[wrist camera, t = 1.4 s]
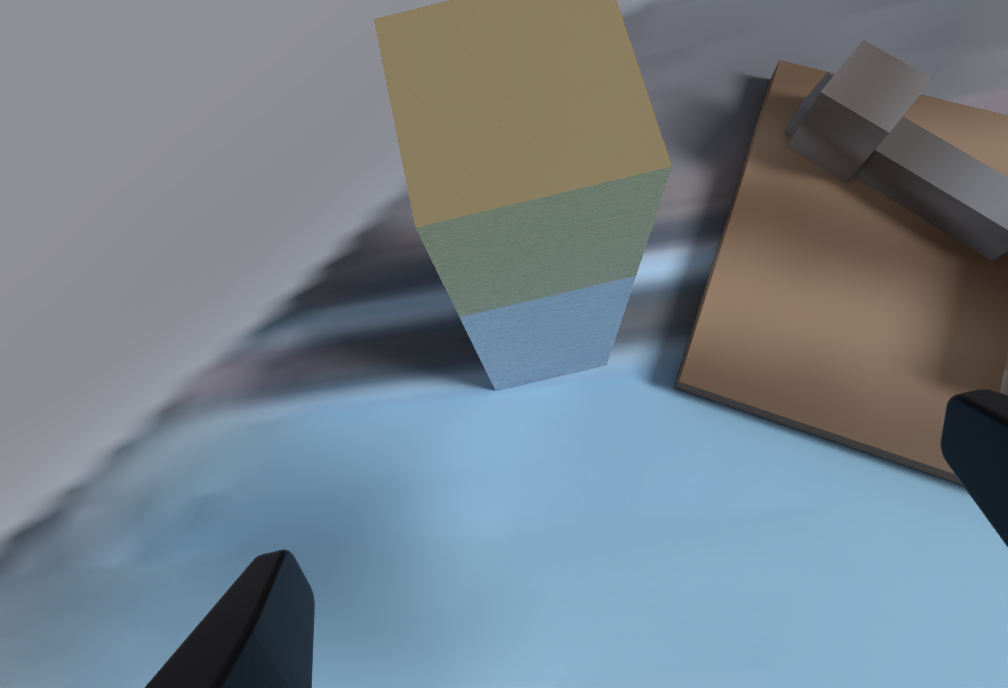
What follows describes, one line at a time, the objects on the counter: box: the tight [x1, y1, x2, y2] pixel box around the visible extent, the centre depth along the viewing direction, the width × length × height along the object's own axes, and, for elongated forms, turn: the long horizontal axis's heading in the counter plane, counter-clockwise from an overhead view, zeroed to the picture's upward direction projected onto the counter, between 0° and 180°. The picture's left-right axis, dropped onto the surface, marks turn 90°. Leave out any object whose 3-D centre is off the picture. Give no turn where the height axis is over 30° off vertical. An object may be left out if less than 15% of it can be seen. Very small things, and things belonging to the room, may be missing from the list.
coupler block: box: [374, 0, 672, 391], centre depth 16 cm, size 4×4×13 cm
